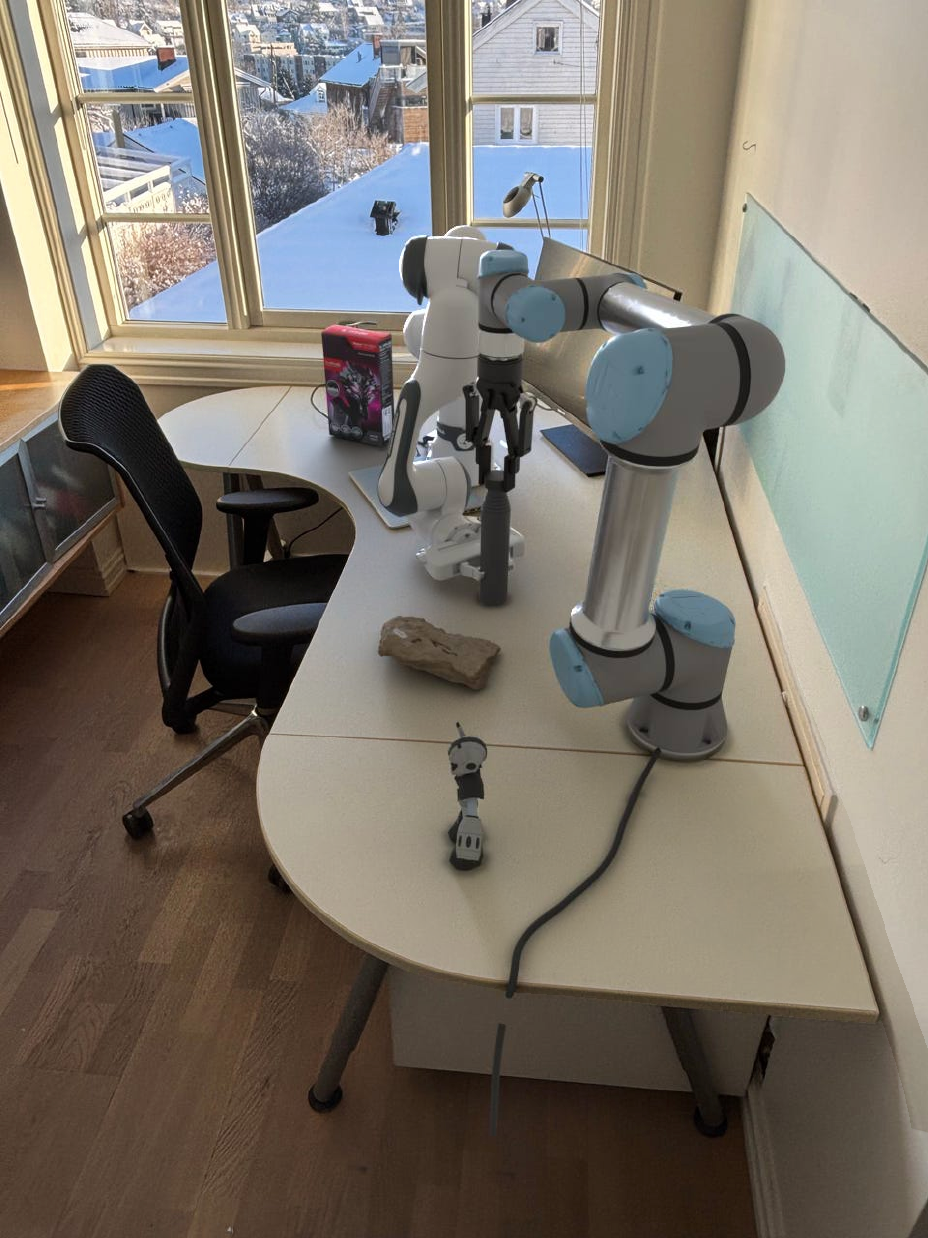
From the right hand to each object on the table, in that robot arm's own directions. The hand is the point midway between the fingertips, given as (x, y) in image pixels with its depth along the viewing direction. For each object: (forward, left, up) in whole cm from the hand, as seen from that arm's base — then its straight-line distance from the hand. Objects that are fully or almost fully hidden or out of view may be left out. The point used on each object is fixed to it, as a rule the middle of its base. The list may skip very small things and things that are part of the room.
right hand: (496, 485), depth 161 cm
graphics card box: (+65, +51, -24) cm, 86 cm away
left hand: (-1, -1, -17) cm, 17 cm away
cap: (0, 0, +2) cm, 2 cm away
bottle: (0, 0, -24) cm, 24 cm away
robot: (-61, -11, -24) cm, 66 cm away
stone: (-23, +5, -24) cm, 33 cm away
